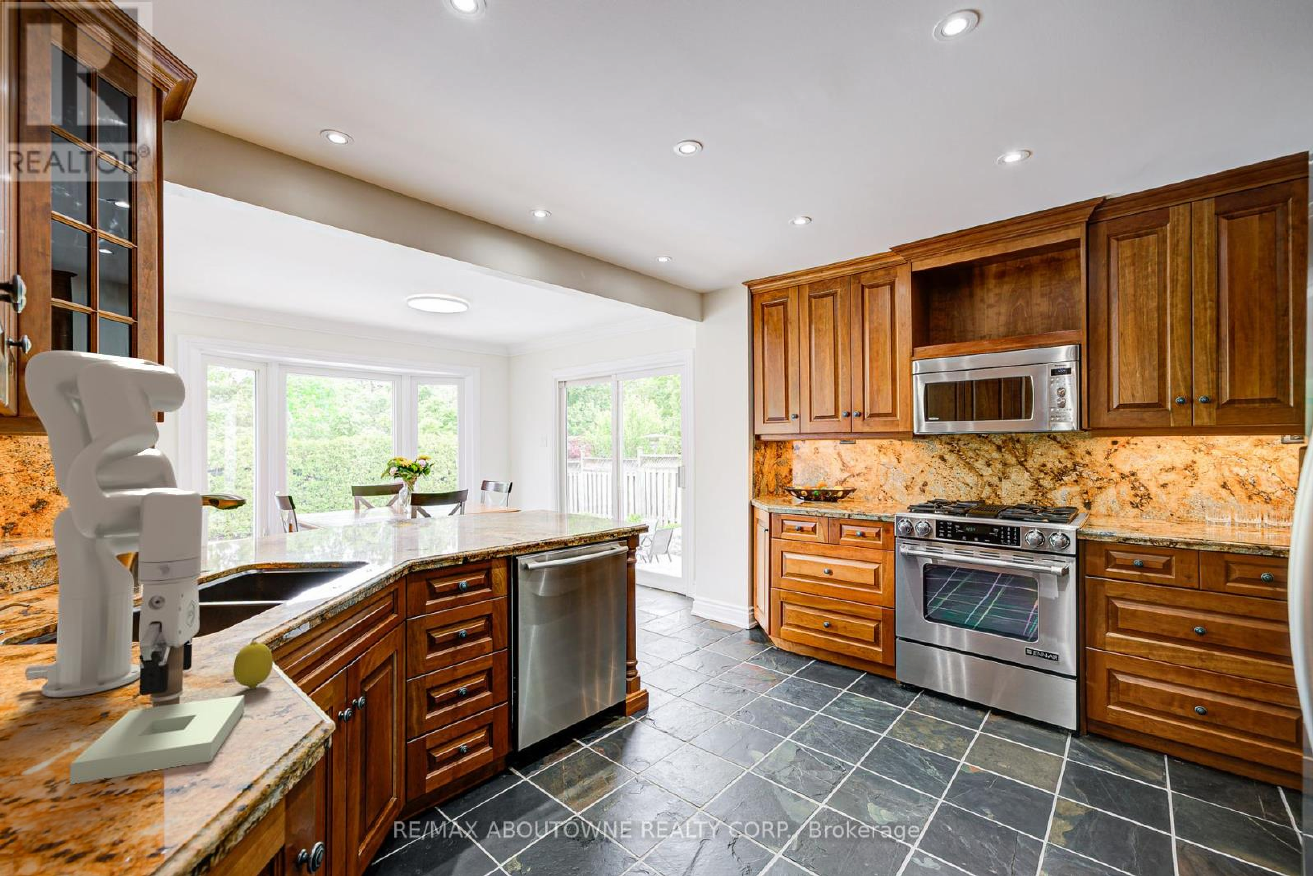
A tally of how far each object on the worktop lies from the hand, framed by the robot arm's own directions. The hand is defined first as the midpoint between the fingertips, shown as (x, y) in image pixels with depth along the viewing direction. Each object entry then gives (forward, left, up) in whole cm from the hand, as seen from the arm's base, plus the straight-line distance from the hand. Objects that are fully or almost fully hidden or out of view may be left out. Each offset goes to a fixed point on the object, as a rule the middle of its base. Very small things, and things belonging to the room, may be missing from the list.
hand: (166, 681), depth 90 cm
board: (+4, -12, -5) cm, 14 cm away
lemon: (+10, +6, -5) cm, 13 cm away
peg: (0, 0, -5) cm, 5 cm away
